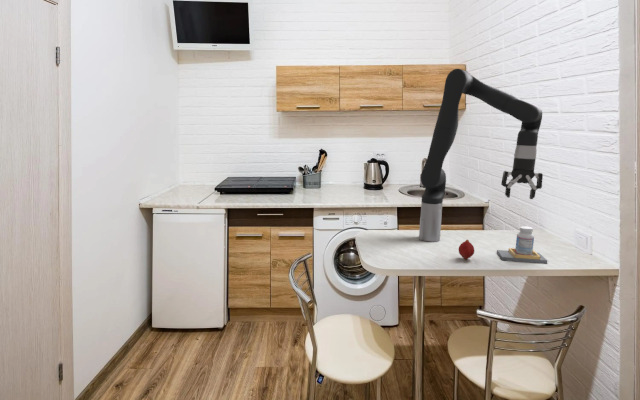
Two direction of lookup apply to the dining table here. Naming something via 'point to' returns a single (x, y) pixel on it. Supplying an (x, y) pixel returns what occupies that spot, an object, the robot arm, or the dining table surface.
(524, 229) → the pill bottle
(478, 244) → the dining table surface
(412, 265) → the dining table surface
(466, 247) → the onion
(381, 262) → the dining table surface
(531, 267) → the dining table surface
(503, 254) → the plate
